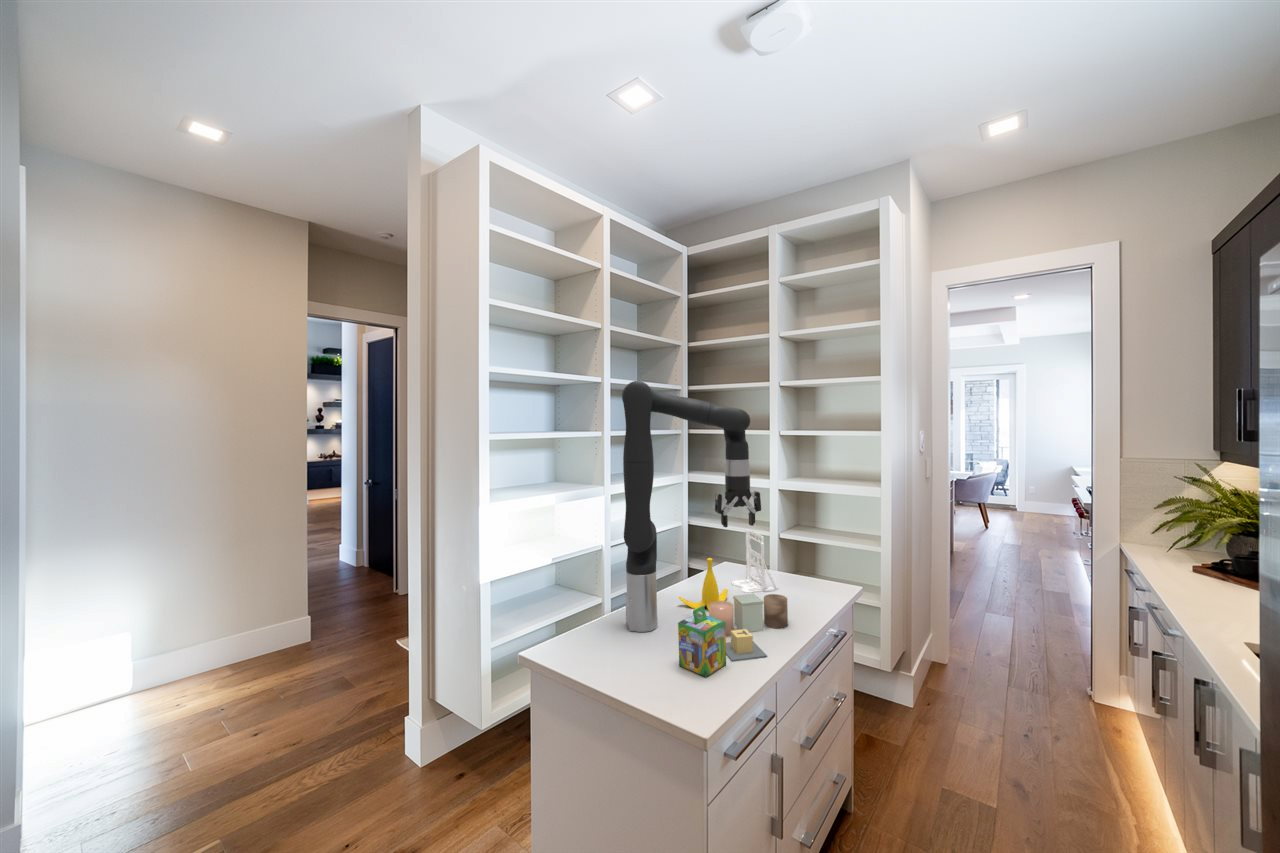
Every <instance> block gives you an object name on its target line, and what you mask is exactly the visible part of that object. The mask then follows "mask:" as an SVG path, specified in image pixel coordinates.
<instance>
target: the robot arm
mask: <svg viewBox="0 0 1280 853" xmlns="http://www.w3.org/2000/svg"><path fill="white" fill-rule="evenodd" d="M621 400H622V403H623V409H624V417H625V434H624V443H623V457H622V460H623V461H622V462H623V464H622V466H623V470H622V471H623V472H622V473H623V483H624V484H623V486H624V487H623V488H624V497H625V499H624V500H625V516H624V528H623V529H624V530H623V539H624V543H625V545H626V546H627V556H626V561H625V562H626V563H625V572H626V578H625V579H626V593H625V621H626V622H625V623H626V626H627V628H628V629H627V630H628V631H629V632H637V633H646V632H651V631H654V630H656V629H657V627H658V599H657V596H658V595H657V593H658V592H657V590H658V589H657V587H658V586H657V558H658V551H657V549H658V546H657V545H658V541H657V539H658V537H657V536H658V534H657V529H656V525H655V523H654V522H653V521H652V520H651V519H652V517H651V500H652V499H651V498H652V492H653V485H654V474H655V473H654V472H655V470H654V467H655V466H654V465H655V464H654V448H653V440H652V439H653V438H652V433H651V418H652V416H651V415H652V413H659V414H663V415H667V416H672V417H675V418H679V419H680V420H681V419H682V420H684V421H685V420H686V421H687V422H692V423H697V424H700V425H705V426H709V427H711V426H712V427H717V428H721V429H723V434H724V435H723V436H724V441H725V464H724V477H725V478H724V479H725V481H724V482H725V484H724V485H725V487H724V488H725V492H724V493H719V492H716V493H715V499H714V500H715V502H714V504H715V505H714V512H715V513H716V514H719V515H720V522H721V525H722V526H723V528H728V527H729V526H728V525H729V524H728V513H729V512H730V511H731V510H732V508H738V507H741V508H742V507H745V508H746V509H747V510H748V525H749V526H751V527H753V526H754V525H755V523H756V513H758V512H761V511H762V503H761V493H760V491H757V490H754V491H751V466H750V459H749V458H750V457H749V454H750V452H749V444H748V441H747V440H746V438H747V437H746V430H747V429H748V428H749V426H750V424H751V417H750V415H749V413H747V411H745V410H743V409H740V408H736V407H731V406H726V405H725V406H724V405H719V404H716V403H713V402H709V401H705V400H701V399H698V398H692V397H686V396H685V397H684V396H679V395H672V394H668V393H664V392H662V391H659V390H656V389H654V388H651V387H650V386H649V385H648V383H646V382H644V381H641V380H634V381H631V382H629V383H628V384H627V385H626V386H624V388H623V391H622V394H621ZM751 497H752V499H753V505H752V503H751V502H750V499H751ZM724 499H725V500H726V501H725V503H724V505H722V503H723V500H724ZM722 506H723V507H722Z"/></svg>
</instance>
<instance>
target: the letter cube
mask: <svg viewBox="0 0 1280 853" xmlns="http://www.w3.org/2000/svg"><path fill="white" fill-rule="evenodd" d="M753 636H754V635H753V634H751V632H748V631H747V630H746V629H742V630H740V629H736V630H735V629H734V630H733V631H731V636H730V642H731V647H732V649H733V650H734V651H735V652H736V653H737V654H743V653H751V652H753V642H754V640H753V639H754V638H753Z"/></svg>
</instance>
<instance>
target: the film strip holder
mask: <svg viewBox="0 0 1280 853" xmlns="http://www.w3.org/2000/svg"><path fill="white" fill-rule="evenodd" d="M751 540H754V541H755V542H757V543H759V544H760V547H761V548H760V549H761V550H760V553H759V552H757V551H755V550H753V549H752V545H751ZM745 547H746V550H745V562H746V566H745V568H746V569H745V574H746V576H745V577H746V579H739V580H732V581H731V584H732V585H733V586H735V587H738V588H739V587H740V589H739V590H740V592H741V593H744V594H755V593H761V592H762V593H768V592H775V591H777V590H779V589H780V588H779V587H778V586H777V585H776V583H775V581H774V580H773V577H772V574H770V572H769V569H768V568H767V566H766V565H767V564H766V562H765V537H764V536H763V535H761V534H759V533H757V532H755V531H753V530H751V529H748V528H746V530H745ZM752 566H753V567H754V568H755V570H756V572H757V574H758V576H754V575H752V574H753V573H752V570H751V568H752ZM765 570H766V572H767V575H768V577H769V579H770V581H771V584H772V586H770V587H769V586H767V587H766V583H765V582H766V580H765V579H766V578H765V577H766V575H765V574H766V573H765Z"/></svg>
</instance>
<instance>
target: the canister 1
mask: <svg viewBox="0 0 1280 853" xmlns="http://www.w3.org/2000/svg"><path fill="white" fill-rule="evenodd" d="M708 612H709V615H708V616H711V617H714V618H715V619H718V620H721V621H724V622H725V630H726V638H727V637H731V631H733V630H735V629H734V603H731V602H729V601H726V600H725V601H714V602H711V603H710V604H709V611H708Z"/></svg>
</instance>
